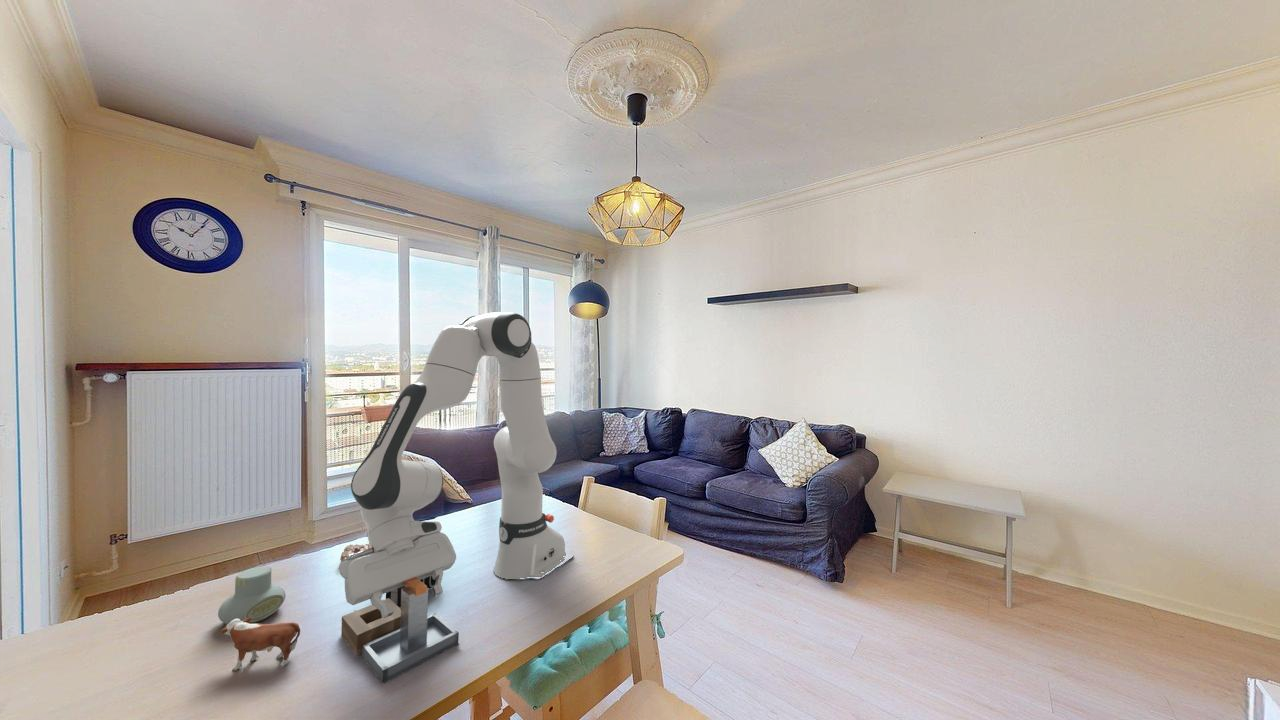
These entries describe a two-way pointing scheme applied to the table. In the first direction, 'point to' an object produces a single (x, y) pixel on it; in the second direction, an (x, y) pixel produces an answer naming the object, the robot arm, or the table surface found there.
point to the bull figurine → (261, 638)
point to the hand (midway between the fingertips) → (414, 604)
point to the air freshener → (252, 597)
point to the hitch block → (368, 625)
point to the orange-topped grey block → (413, 616)
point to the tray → (392, 658)
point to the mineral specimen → (353, 550)
